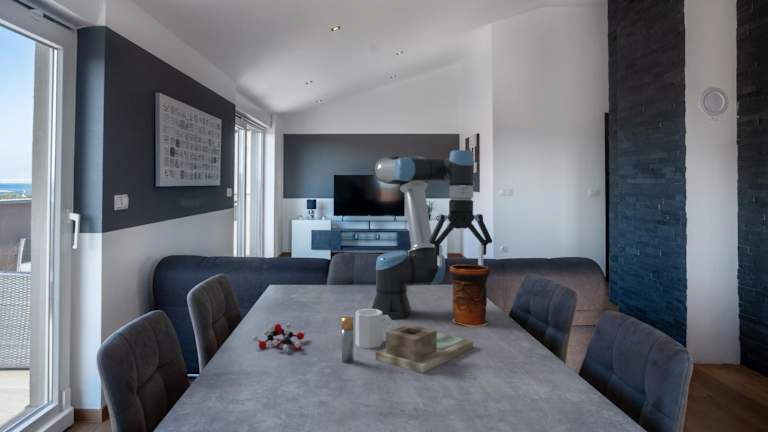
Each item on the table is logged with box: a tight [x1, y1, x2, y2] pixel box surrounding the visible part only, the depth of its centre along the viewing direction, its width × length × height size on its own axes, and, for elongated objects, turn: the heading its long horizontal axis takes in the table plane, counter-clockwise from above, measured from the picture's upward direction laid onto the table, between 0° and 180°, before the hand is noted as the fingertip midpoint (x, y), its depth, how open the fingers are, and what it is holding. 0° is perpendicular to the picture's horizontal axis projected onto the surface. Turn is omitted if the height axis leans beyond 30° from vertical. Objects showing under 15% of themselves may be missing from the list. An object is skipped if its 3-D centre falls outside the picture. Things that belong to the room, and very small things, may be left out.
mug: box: [354, 308, 395, 349], centre depth 142 cm, size 12×9×10 cm
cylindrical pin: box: [341, 316, 354, 364], centre depth 127 cm, size 3×3×12 cm
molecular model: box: [251, 322, 306, 352], centre depth 140 cm, size 10×12×15 cm
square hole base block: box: [375, 324, 474, 374], centre depth 134 cm, size 16×26×8 cm, turn 140°
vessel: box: [449, 263, 491, 328], centre depth 166 cm, size 14×14×20 cm
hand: (460, 265), depth 148 cm, fingers open, 13 cm apart
